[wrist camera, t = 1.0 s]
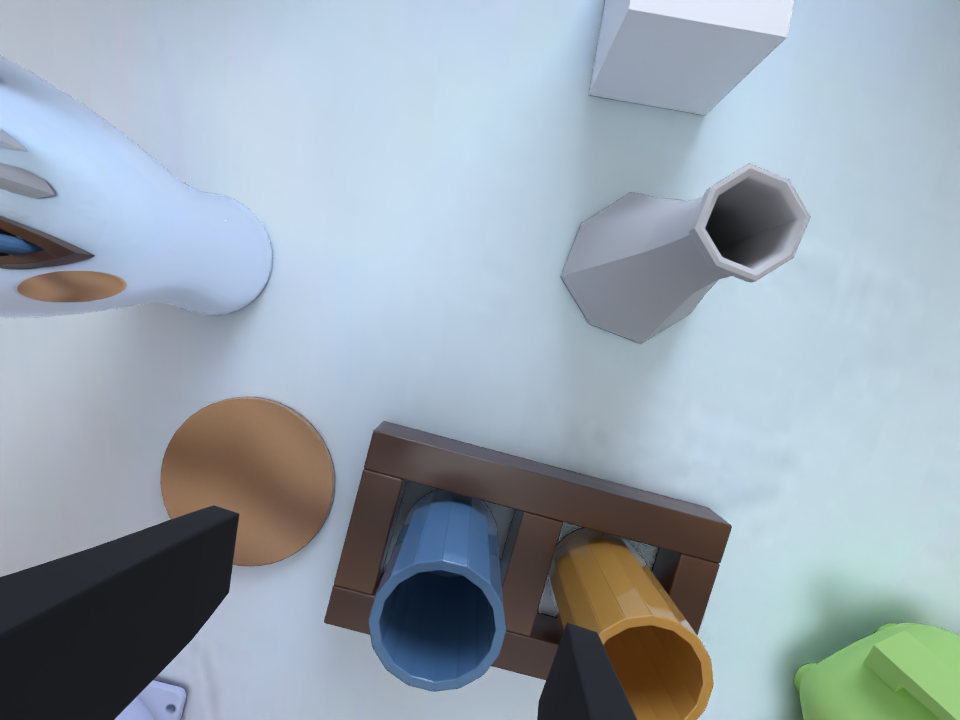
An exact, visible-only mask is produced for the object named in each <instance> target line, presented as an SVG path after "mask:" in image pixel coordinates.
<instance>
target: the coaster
mask: <svg viewBox="0 0 960 720" xmlns="http://www.w3.org/2000/svg"><path fill="white" fill-rule="evenodd" d="M161 490H162V496H163V500H164V504H165V507H166V510H167V512H168V515H169V517H170V518H171V520H172V519H174V518H177V517H180V516H183V515H186V514H189V513H191V512H194V511H197V510H200V509H203V508H207V507H210V506H213V505H215V506H218V507H221V508H224V509H227V510H230V511H233V512H236V513H239V521H238V529H237V536H236V543H235V551H234V558H233V565H238V566H261V565H266V564H272V563H275V562H278V561H281V560H283V559H285V558H287V557H289V556H292V555H293V554H295V553H296V552H298V551H299V550H301V549H302V548H303V547H304V546H305V545H307V544H308V543H309V542H310V541H311V540H312V539H313V537H314V536H315V535H316V534H317V533H318V532H319V530H320V529H321V527H322V526H323V524H324V522H325V520H326V518H327V516H328V514H329V512H330V509H331V506H332V503H333V497H334V490H335V476H334V468H333V464H332V459H331V457H330V454H329V451H328V449H327V447H326V445H325V443H324V441H323V439H322V438H321V436H320V435H319V433H318V432H317V431H316V429H315V428H314V427H313V426H312V425H311V424H310V423H309V422H308V421H307V420H306V419H305V418H303V417H302V416H301V415H300V414H298V413H297V412H295V411H294V410H292V409H291V408H289V407H287V406H285V405H282V404H280V403H277V402H274V401H271V400H268V399H263V398H256V397H238V398H232V399H227V400H223V401H219V402H216V403H213V404H211V405H209V406H207V407H205V408H203V409H201V410H199V411H198V412H196V413H195V414H193V415H192V416H191V417H190V418H189V419H187V420H186V421H185V422H184V423H183V424H182V425H181V427H180V428H179V429H178V430H177V431H176V433H175V434H174V436H173V438H172V439H171V441H170V443H169V445H168V447H167V449H166V452H165V455H164V459H163V463H162V469H161Z"/></svg>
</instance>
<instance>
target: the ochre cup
mask: <svg viewBox="0 0 960 720" xmlns="http://www.w3.org/2000/svg"><path fill="white" fill-rule="evenodd" d="M548 581H549V585H550V592H551V595H552V599H553V603H554V606H555V610H556V614H557V617H558V621H559V625H560V628H561V632H562V635H563V632H564V629H565V627H566V624H567V622H568V623H571V624H574V625H577V626H580V627H583V628H586V629H589V630H592V631H595V632H597V633H598V635H599V637H600V639H601V641H602V643H603V645H604V648H605V650H606V652H607V654H608V657H609V659H610V661H611V663H612V666H613V668H614V670H615V672H616V675H617V677H618V679H619V681H620V683H621V686H622V688H623V690H624V692H625V694H626V696H627V699H628V701H629V703H630V705H631V707H632V709H633V712H634V714H635V716H636V718H637V720H697V719H698V718H699V717H700V715H701V714H702V713H703V712H704V711H705V709H706V707H707V704H708V701H709V697H710V694H711V691H712V688H713V674H712V664H711V659H710V656H709V655H708V653H707V651H706V649H705V648H704V646H703V644H702V642H701V640H700V639H699V637H698V636H697V634H696V633H695V632H694V630H693V629H692V627H691V626H690V625H689V623H688V622H687V620H686V619H685V618H684V616H683V615H682V613H681V612H680V611H679V609H678V608H677V606H676V605H675V604H674V602H673V601H672V599H671V598H670V597H669V595H668V594H667V592H666V591H665V590H664V588H663V587H662V585H661V584H660V583H659V581H658V580H657V578H656V577H655V576H654V574H653V573H652V571H651V570H650V569H649V567H648V566H647V564H646V563H645V562H644V560H643V559H642V557H641V556H640V555H639V553H638V552H637V550H636V549H635V548H634V547H633V545H631V543H630V542H629V541H628V540H627V539H626V538H622V537H618V536H615V535H611V534H607V533H603V532H600V531H596V530H592V529H588V528H582V529H579V530H576V531H574V532H572V533H570V534H569V535H567V536H566V537H565V538H563V539H562V540H561V541H560V542H559V544H558V545H557V546H556V548H555V552H554V555H553V558H552V562H551V565H550V569H549V572H548Z"/></svg>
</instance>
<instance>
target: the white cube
mask: <svg viewBox="0 0 960 720" xmlns="http://www.w3.org/2000/svg"><path fill="white" fill-rule="evenodd" d="M794 1H795V0H605V5H604V11H603V17H602V22H601V28H600V34H599V39H598V45H597V51H596V56H595V62H594V68H593V73H592V79H591V85H590V91H589V95H592V96H597V97H603V98H609V99H615V100H620V101H626V102H632V103H637V104H643V105H649V106H655V107H660V108H666V109H672V110H678V111H683V112H689V113H695V114H700V115H706V114H707V113H708V112H709V111H710V110H711V109H712V108H713V107H714V106H715V105H716V104H718V103H719V102H720V101H721V100H722V99H723V98H724V97H725V96H726V95H727V94H728V93H729V92H730V91H731V90H732V89H733V88H734V87H735V86H736V85H737V84H738V83H740V82H741V81H742V80H743V79H744V78H745V77H746V76H747V75H748V74H749V73H750V72H751V71H752V70H753V69H754V68H755V67H756V66H757V65H758V64H759V63H761V62H762V61H763V60H764V59H765V58H766V57H767V56H768V55H769V54H770V53H771V52H772V51H773V50H774V49H775V48H776V47H777V46H778V45H779V44H780V43H782V42H783V41H784V40H785V39H786V38H787V35H788V30H789V25H790V20H791V16H792V11H793V6H794Z"/></svg>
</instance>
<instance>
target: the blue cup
mask: <svg viewBox="0 0 960 720" xmlns="http://www.w3.org/2000/svg"><path fill="white" fill-rule="evenodd" d="M369 629H370V636H371V642H372V647H373V649H374V651H375V653H376V654H377V656H378V657H379V659H380V661H381V662H382V664H383V666H384V667H385V669H387V671H389V672H390V673H391V674H393V675H394V676H395V677H397V678H398V679H400V680H401V681H402V682H404V683H405V684H408V685H409V686H413V687H417V688H421V689H424V690H428V691H434V692H435V691H443V690H451V689H458V688H461V687H463V686H465V685H467V684H469V683H470V682H472V681H474V680H476V679H478V678H480V677H481V676H482V675H484V673H485V672H486V671H487V670H488V669H489V667H490V666H491V665H492V664H493V662H494V661H495V660H496V659H497V658H498V656H499V654H500V651H501V647H502V644H503V641H504V637H505V634H506V621H505V610H504V599H503V588H502V577H501V566H500V555H499V544H498V535H497V527H496V522H495V519H494V516H493V514H492V512H491V511H490V509H489V508H488V506H487V505H486V504H485V503H484V502H483V501H482V500H479V499H475V498H472V497H468V496H464V495H460V494H457V493H453V492H449V491H445V490H442V489H440V490H436V491H433V492H431V493H429V494H427V495H425V496H424V497H422V498H421V499H420V500H419V501H417V503H416V504H415V505H414V506H413V507H412V509H411V510H410V512H409V514H408V515H407V517H406V519H405V521H404V524H403V527H402V529H401V532H400V534H399V537H398V539H397V542H396V544H395V547H394V550H393V552H392V555H391V557H390V560H389V562H388V565H387V567H386V570H385V573H384V575H383V578H382V580H381V583H380V585H379V588H378V590H377V593H376V596H375V598H374V602H373V606H372V610H371V613H370V617H369Z"/></svg>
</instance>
